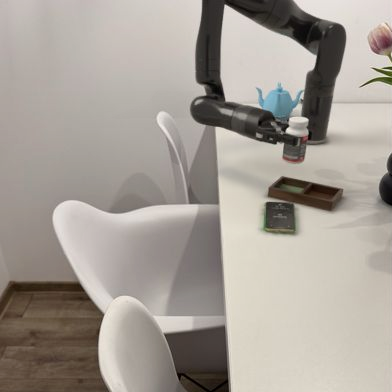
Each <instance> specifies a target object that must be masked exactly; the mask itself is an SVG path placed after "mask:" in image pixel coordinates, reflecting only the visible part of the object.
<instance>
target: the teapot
mask: <svg viewBox="0 0 392 392" xmlns="http://www.w3.org/2000/svg"><path fill="white" fill-rule="evenodd" d="M254 88H255V89H256V91H257V93H258V105H259V106H260V108H261V109H264V110H268V111H271V112H272V113H273V115H274V118H279V120H283V121H287V118H286V117H289V116H290V115H291V114H292V113H293V111H294V109H295V108H297V106H298V105H299V102H300V99H301V98H300V97H301V96H302V93H304V89H301V90H298V92H297V94H296V97H295V99H294V100H293V98H292V96H291V94H290V92H289V91H288V90H286V89H284V87H283V86H282V83H281V82H280V81H279V82H277V87H276V89H271V90H270V91H269V92H268V93H267V95H266V96H265V98H263V91H262V89H261V88H259V87H256V86H255V87H254Z"/></svg>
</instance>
